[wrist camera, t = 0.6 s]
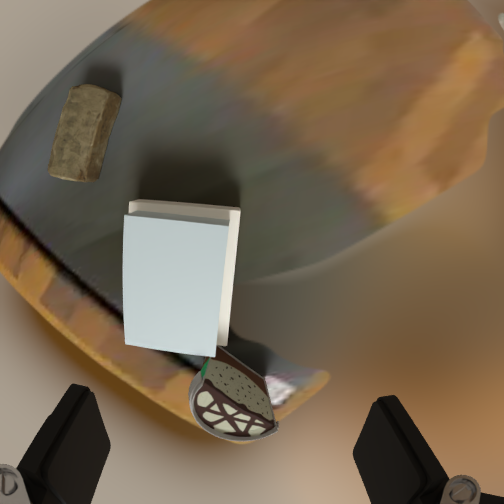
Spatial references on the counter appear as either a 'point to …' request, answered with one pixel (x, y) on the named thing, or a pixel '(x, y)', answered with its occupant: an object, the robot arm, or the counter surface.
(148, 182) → the counter surface
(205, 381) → the food container
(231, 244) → the tower base slab
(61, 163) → the stone block
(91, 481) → the robot arm
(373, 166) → the counter surface
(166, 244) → the tower top slab
